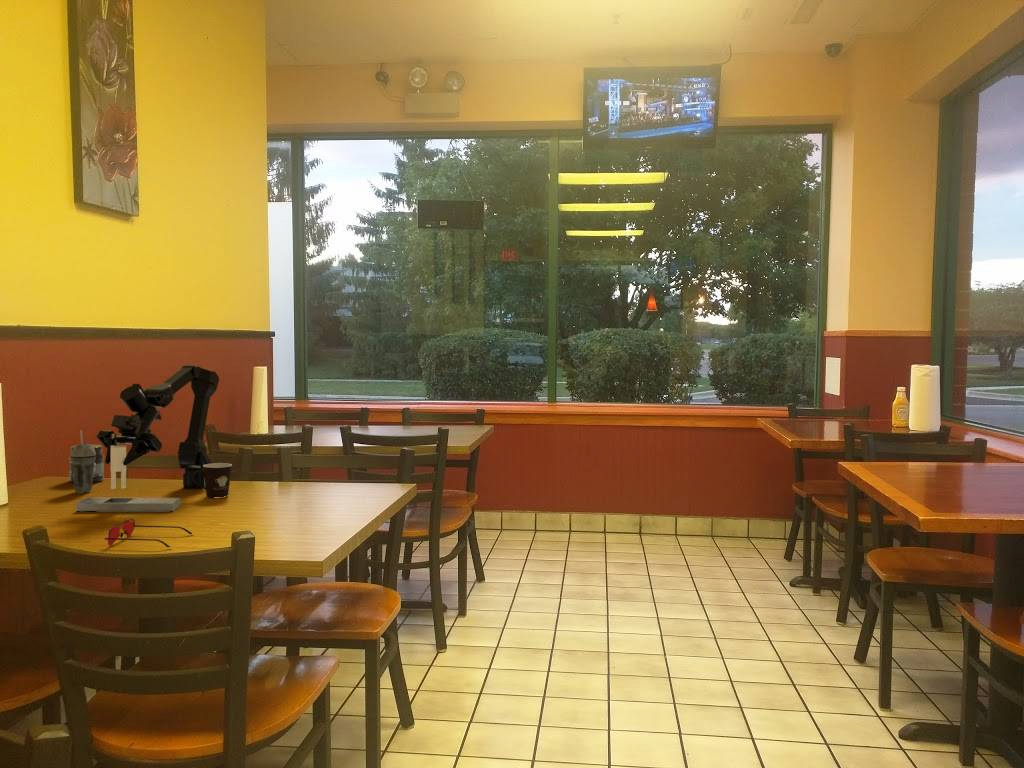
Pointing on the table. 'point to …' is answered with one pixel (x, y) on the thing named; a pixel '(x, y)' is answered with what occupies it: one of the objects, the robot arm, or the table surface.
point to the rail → (128, 504)
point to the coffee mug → (216, 479)
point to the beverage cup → (83, 466)
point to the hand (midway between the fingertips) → (115, 463)
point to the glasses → (128, 530)
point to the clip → (118, 465)
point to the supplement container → (98, 465)
